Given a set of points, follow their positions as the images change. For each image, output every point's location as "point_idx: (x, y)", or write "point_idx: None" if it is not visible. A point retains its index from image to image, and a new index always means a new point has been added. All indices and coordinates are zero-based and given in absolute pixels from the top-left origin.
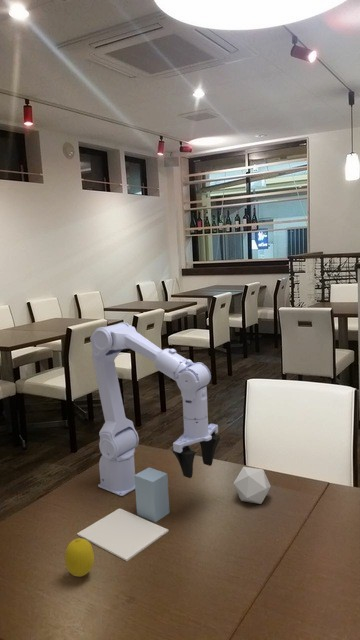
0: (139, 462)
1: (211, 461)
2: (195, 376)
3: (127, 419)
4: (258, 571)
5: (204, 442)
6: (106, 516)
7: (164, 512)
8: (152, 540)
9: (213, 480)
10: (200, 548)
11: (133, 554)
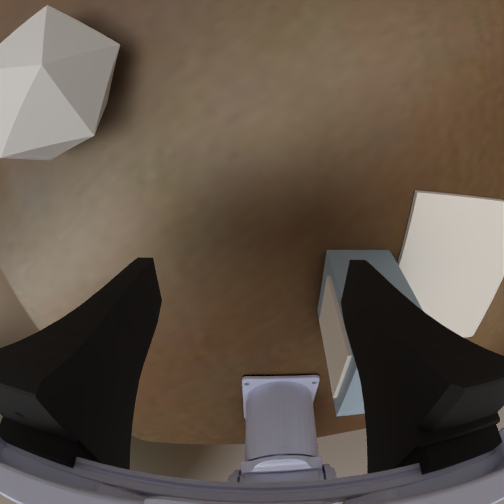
0: (172, 416)
1: (137, 269)
2: None
3: None
4: None
5: (113, 417)
6: None
7: (352, 257)
8: (470, 199)
9: (83, 259)
10: (440, 58)
11: None
